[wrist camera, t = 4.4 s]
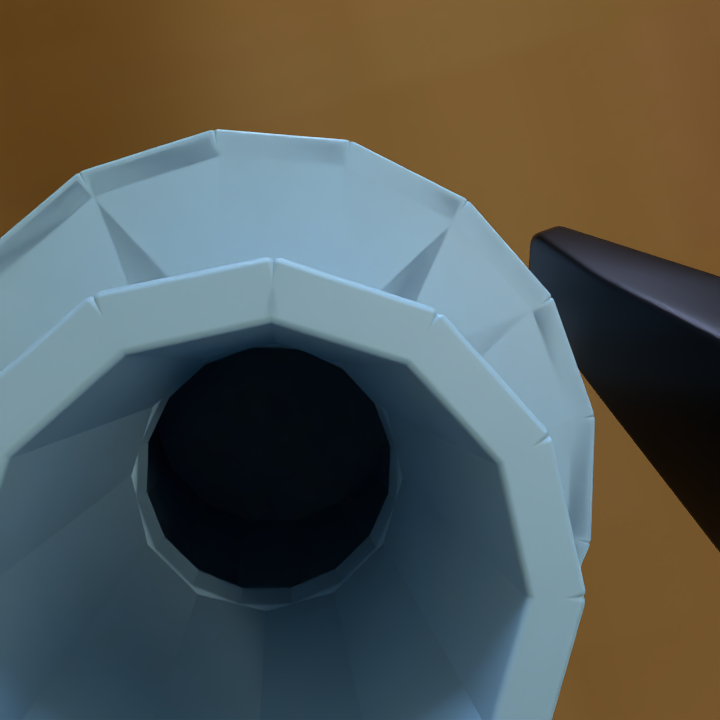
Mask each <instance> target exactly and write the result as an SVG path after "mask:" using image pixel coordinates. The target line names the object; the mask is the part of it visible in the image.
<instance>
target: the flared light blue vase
mask: <svg viewBox="0 0 720 720" xmlns="http://www.w3.org/2000/svg"><path fill="white" fill-rule="evenodd" d="M593 415H594V412H593V409H592V406H591V404H590V401H589V398H588V395H587V392H586V389H585V387H584V384H583V381H582V378H581V375H580V372H579V370H578V367H577V364H576V361H575V358H574V355H573V353H572V350H571V347H570V344H569V341H568V338H567V336H566V333H565V330H564V327H563V324H562V322H561V319H560V316H559V313H558V310H557V307H556V305H555V302H554V299H553V298H551V294H550V293H549V292H548V291H547V290H546V288H545V287H544V286H543V285H542V284H541V283H540V282H539V280H538V279H537V278H536V277H535V276H534V275H533V274H532V272H531V271H530V270H529V269H528V268H527V267H526V266H525V264H524V263H523V262H522V261H521V260H520V259H519V258H518V256H517V255H516V254H515V253H514V252H513V251H512V250H511V248H510V247H509V246H508V245H507V244H506V243H505V242H504V240H503V239H502V238H501V237H500V236H499V235H498V234H497V232H496V231H495V230H494V229H493V228H492V227H491V226H490V224H489V223H488V222H487V221H486V220H485V219H484V218H483V216H482V215H481V214H480V213H479V212H478V211H477V210H476V208H475V207H474V206H473V205H472V204H471V203H470V202H467V200H466V199H465V198H463V197H461V196H459V195H457V194H455V193H453V192H451V191H450V190H448V189H446V188H444V187H442V186H440V185H438V184H436V183H434V182H432V181H430V180H428V179H426V178H424V177H422V176H420V175H418V174H416V173H414V172H412V171H410V170H408V169H406V168H404V167H402V166H400V165H398V164H396V163H394V162H392V161H390V160H388V159H386V158H384V157H382V156H380V155H378V154H376V153H374V152H372V151H370V150H369V149H367V148H365V147H363V146H361V145H359V144H357V143H355V142H349V141H348V140H341V139H329V138H317V137H305V136H293V135H281V134H268V133H256V132H244V131H232V130H220V129H217V130H215V131H213V130H209V131H206V132H203V133H200V134H197V135H193V136H190V137H187V138H184V139H181V140H178V141H175V142H171V143H168V144H165V145H162V146H159V147H156V148H152V149H149V150H146V151H143V152H140V153H137V154H134V155H130V156H127V157H124V158H121V159H118V160H115V161H111V162H108V163H105V164H102V165H99V166H96V167H92V168H89V169H86V170H83V171H81V172H80V174H76V175H74V176H73V177H72V178H71V179H70V180H68V181H67V182H66V183H65V184H64V185H62V186H61V187H60V188H59V189H58V190H57V191H55V192H54V193H53V194H52V195H51V196H49V197H48V198H47V199H46V200H45V201H44V202H42V203H41V204H40V205H39V206H38V207H36V208H35V209H34V210H33V211H32V212H31V213H29V214H28V215H27V216H26V217H25V218H24V219H22V220H21V221H20V222H19V223H18V224H16V225H15V226H14V227H13V228H12V229H11V230H9V231H8V232H7V233H6V234H5V235H3V236H2V237H1V238H0V720H552V718H553V714H554V711H555V707H556V704H557V700H558V697H559V693H560V689H561V686H562V682H563V679H564V675H565V672H566V668H567V665H568V661H569V658H570V654H571V651H572V647H573V644H574V640H575V637H576V633H577V630H578V626H579V623H580V619H581V616H582V612H583V609H584V605H585V599H584V596H583V595H585V587H584V582H583V577H582V573H581V568H580V567H581V565H582V562H583V560H584V558H585V555H586V553H587V550H588V548H589V542H590V540H591V519H592V489H593V459H594V429H595V418H594V417H593Z"/></svg>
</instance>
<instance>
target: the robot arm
mask: <svg viewBox="0 0 720 720" xmlns="http://www.w3.org/2000/svg"><path fill="white" fill-rule="evenodd" d="M529 270H530V271H531V272H532V274H533V275H534V276H535V277H536V278H537V279H538V280H539V282H540V283H541V284H542V285H543V286H544V287H545V288H546V290H547V291H548V292H549V293H550V294H551V298H553V299H554V302H555V305H556V307H557V310H558V313H559V316H560V319H561V322H562V324H563V327H564V330H565V333H566V336H567V338H568V341H569V344H570V347H571V350H572V353H573V355H574V358H575V361H576V364H577V367H578V369H579V370H580V371H581V373H582V374H583V375H584V377H585V378H586V380H587V381H588V382H589V384H590V385H591V386H592V387H593V389H594V390H595V391H596V393H597V394H598V395H599V397H600V398H601V399H602V400H603V402H604V403H605V404H606V406H607V407H608V408H609V410H610V411H611V412H612V413H613V415H614V416H615V417H616V419H617V420H618V421H619V422H620V424H621V425H622V426H623V428H624V429H625V430H626V432H627V433H628V434H629V435H630V437H631V438H632V439H633V441H634V442H635V443H636V444H637V446H638V447H639V448H640V450H641V451H642V452H643V454H644V455H645V456H646V457H647V459H648V460H649V461H650V463H651V464H652V465H653V466H654V468H655V469H656V470H657V472H658V473H659V474H660V476H661V477H662V478H663V479H664V481H665V482H666V483H667V485H668V486H669V487H670V489H671V490H672V491H673V492H674V494H675V495H676V496H677V498H678V499H679V500H680V501H681V503H682V504H683V505H684V507H685V508H686V509H687V511H688V512H689V513H690V514H691V516H692V517H693V518H694V520H695V521H696V522H697V523H698V525H699V526H700V527H701V529H702V530H703V531H704V533H705V534H706V535H707V536H708V538H709V539H710V540H711V542H712V543H713V544H714V545H715V547H716V548H717V549H718V551H719V552H720V277H719V276H716V275H713V274H710V273H707V272H704V271H700V270H697V269H694V268H691V267H688V266H685V265H682V264H679V263H675V262H672V261H669V260H666V259H663V258H660V257H657V256H653V255H650V254H647V253H644V252H641V251H638V250H635V249H631V248H628V247H625V246H622V245H619V244H616V243H613V242H610V241H606V240H603V239H600V238H597V237H594V236H591V235H588V234H584V233H581V232H578V231H575V230H572V229H569V228H566V227H562V226H557V227H553V228H550V229H547V230H545V231H542V232H539V233H537V234H535V235H534V236H533V237H532V240H531V244H530V259H529Z"/></svg>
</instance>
